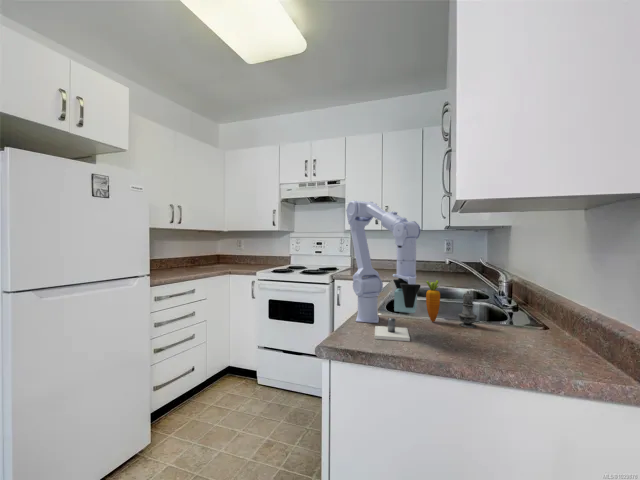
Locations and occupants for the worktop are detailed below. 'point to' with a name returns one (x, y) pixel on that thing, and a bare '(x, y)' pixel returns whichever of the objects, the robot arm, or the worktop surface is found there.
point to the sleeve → (402, 302)
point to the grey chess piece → (467, 312)
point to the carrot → (433, 300)
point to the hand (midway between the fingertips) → (405, 304)
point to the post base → (391, 332)
